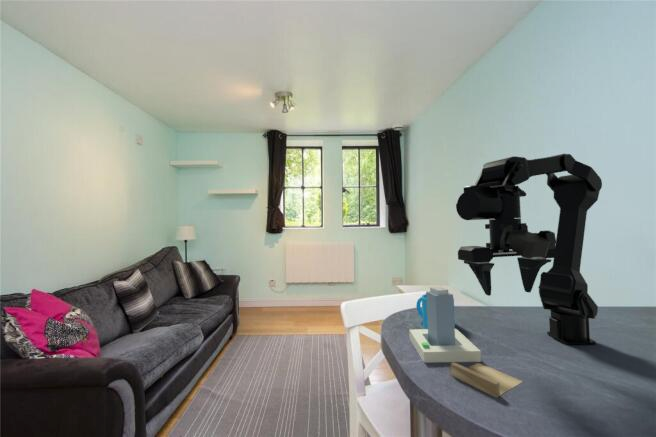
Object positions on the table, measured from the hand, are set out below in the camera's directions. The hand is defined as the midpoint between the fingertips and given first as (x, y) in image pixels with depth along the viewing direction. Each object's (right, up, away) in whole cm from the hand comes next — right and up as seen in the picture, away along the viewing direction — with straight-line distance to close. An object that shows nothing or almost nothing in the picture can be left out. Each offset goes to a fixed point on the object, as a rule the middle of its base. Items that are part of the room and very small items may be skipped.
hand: (508, 293), depth 60 cm
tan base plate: (-10, -13, -10) cm, 19 cm away
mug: (-9, -14, +19) cm, 25 cm away
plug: (-13, -14, +2) cm, 19 cm away
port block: (-13, -14, +2) cm, 19 cm away
